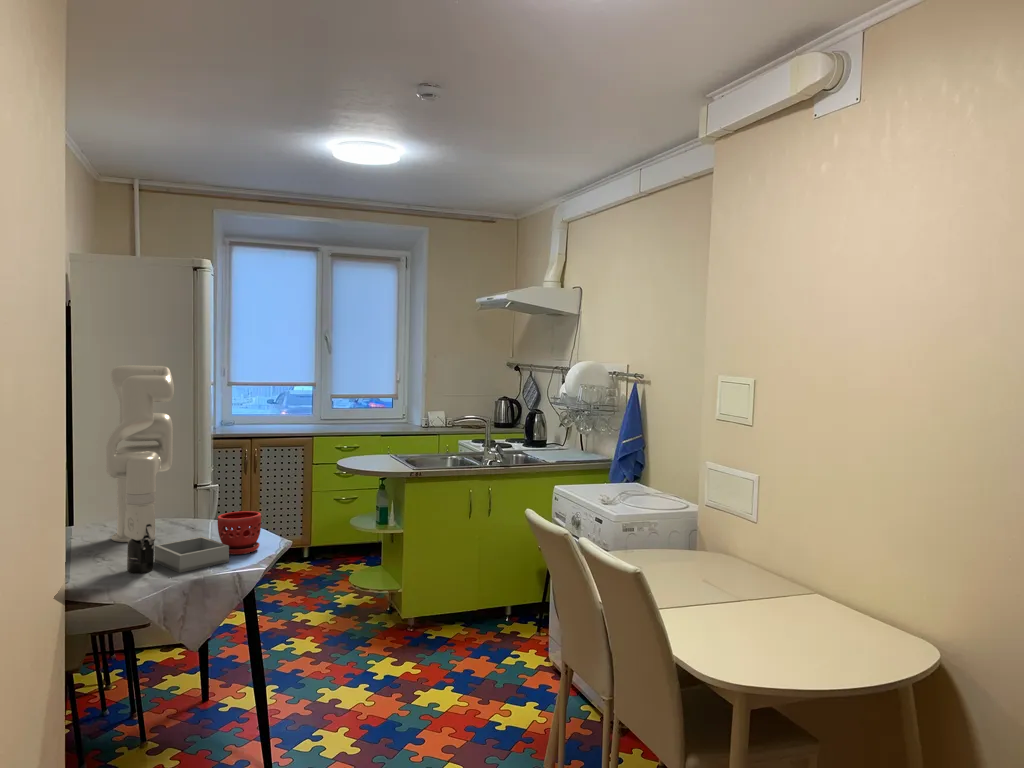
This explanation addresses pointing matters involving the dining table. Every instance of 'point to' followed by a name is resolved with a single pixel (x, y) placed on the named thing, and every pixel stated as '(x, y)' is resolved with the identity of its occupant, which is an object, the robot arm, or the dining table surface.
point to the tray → (191, 554)
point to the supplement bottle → (137, 558)
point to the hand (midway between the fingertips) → (140, 559)
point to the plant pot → (240, 531)
